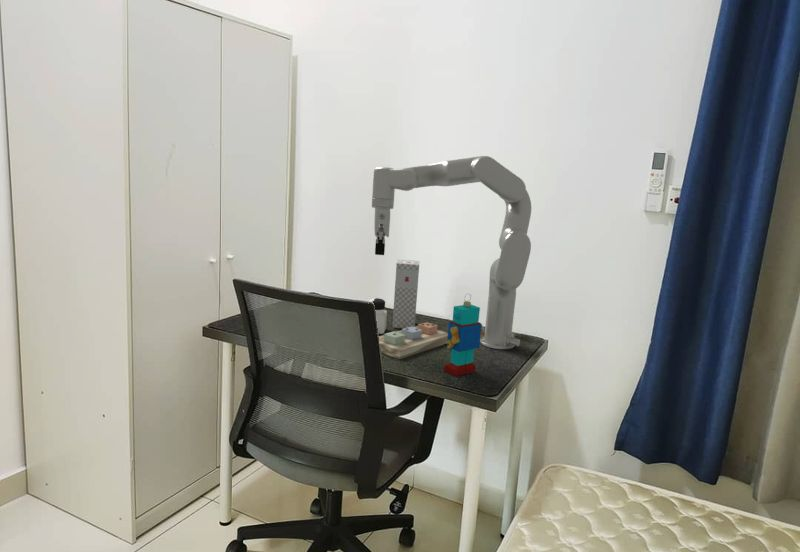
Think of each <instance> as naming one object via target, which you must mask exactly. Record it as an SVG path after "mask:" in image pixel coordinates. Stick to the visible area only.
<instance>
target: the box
mask: <svg viewBox="0 0 800 552" xmlns="http://www.w3.org/2000/svg"><path fill="white" fill-rule="evenodd" d="M395 265H396V268H395V282H394V283H395V284H394V299H393V312H392V328H395V329H404V328H408V327H415V326H416V313H417V302H418V301H417V299H418V287H419V286H418V285H419V284H418V283H419V273H420V260H410V259H397V260H396V264H395Z"/></svg>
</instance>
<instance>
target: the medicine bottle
mask: <svg viewBox="0 0 800 552" xmlns="http://www.w3.org/2000/svg"><path fill="white" fill-rule="evenodd" d="M369 302H373V303H374V305H375V311H376V321H377V328H378V333H377V334H381V335H384V334H385V332H386V329H387V318H388V317H387V316H388V311H387V310H386V300H385V299H383V298H378V297H375V298H371V299H369V300H368V303H369Z"/></svg>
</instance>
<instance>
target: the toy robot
mask: <svg viewBox="0 0 800 552" xmlns="http://www.w3.org/2000/svg"><path fill="white" fill-rule="evenodd" d="M467 295H468V293H467V294H465V295H464V297H466V296H467ZM469 296H470V298H469V300H467V301H466V300H464V301H463V304H462V305H461V304H460V305H455V306H453V312H452V320H451V321H450V322H448V328H447V333H448V338H447V341H446V344H445V345H446V348H447V349H451V352H450V362H448V363H446V364H444V366H443V371H445V372H447V373H448V374H451V375H453V376H455V377H458V376H459V377H460V376H463V375H467V374H470V373H475V372H476V365H475V364H474V354H475V349H479V348H480V347H481V346H480V344H481V343H480V339H482V338H483V336H484V334H483V333H484V332H483V324H482V323H481V322H480V321H479V318H480V312H481V308H480V306H477V305H474V304H472V301H471V299H472V295H471V294H469Z"/></svg>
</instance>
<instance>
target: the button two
mask: <svg viewBox="0 0 800 552" xmlns="http://www.w3.org/2000/svg"><path fill="white" fill-rule="evenodd" d="M401 330H402V333H401V334H404V335H405V338H406V339H409V340H416V339H419V338H421V336H422V330H420V329H417V328H414V327H408V328H401Z"/></svg>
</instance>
